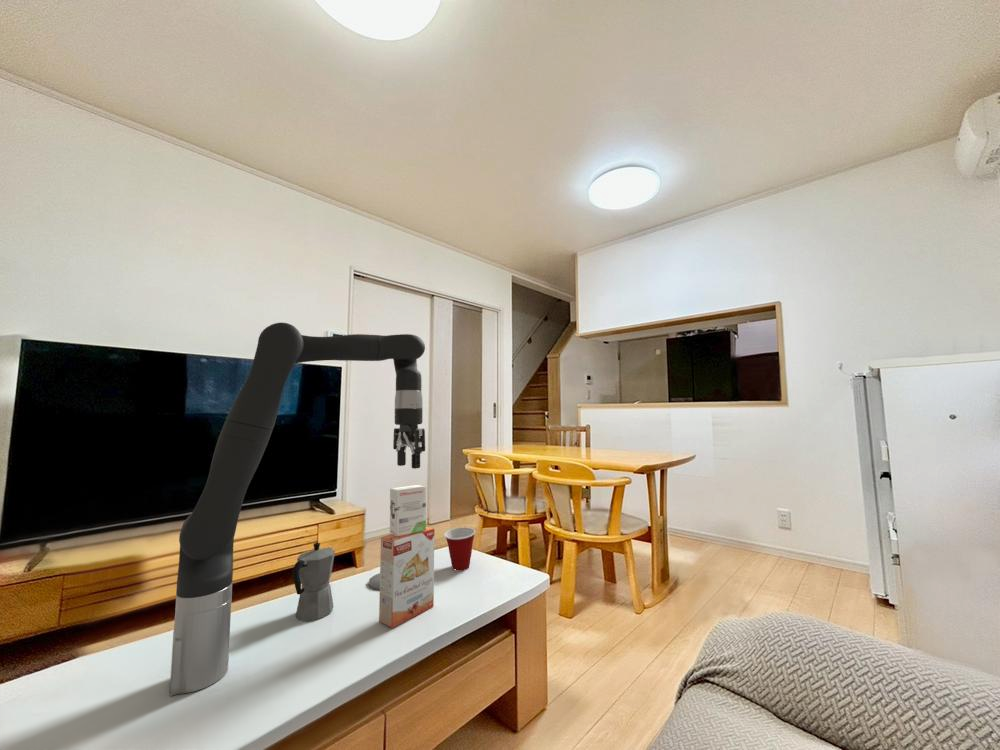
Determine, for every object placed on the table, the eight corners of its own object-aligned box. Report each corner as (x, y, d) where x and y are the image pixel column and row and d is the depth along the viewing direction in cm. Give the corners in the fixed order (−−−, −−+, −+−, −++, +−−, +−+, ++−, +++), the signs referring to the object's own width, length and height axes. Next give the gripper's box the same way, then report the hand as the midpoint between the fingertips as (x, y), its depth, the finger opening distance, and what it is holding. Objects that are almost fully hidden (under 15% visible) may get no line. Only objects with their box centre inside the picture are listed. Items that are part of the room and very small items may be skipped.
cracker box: (393, 630, 94) (393, 540, 97) (378, 622, 98) (379, 536, 100) (435, 606, 105) (435, 527, 108) (420, 601, 109) (420, 524, 111)
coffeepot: (315, 600, 111) (317, 534, 113) (345, 602, 109) (346, 536, 111) (274, 629, 96) (277, 553, 98) (308, 632, 94) (310, 555, 96)
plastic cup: (437, 569, 132) (437, 532, 133) (460, 559, 140) (460, 525, 141) (459, 576, 125) (459, 538, 126) (482, 566, 133) (482, 530, 134)
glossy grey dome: (378, 593, 114) (378, 590, 114) (363, 581, 123) (363, 577, 123) (415, 582, 122) (415, 578, 122) (398, 571, 131) (398, 567, 131)
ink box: (418, 526, 108) (418, 483, 110) (426, 530, 104) (426, 486, 106) (388, 532, 103) (389, 487, 105) (396, 537, 99) (396, 490, 101)
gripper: (385, 408, 110) (384, 466, 109) (408, 406, 100) (407, 470, 98) (409, 408, 115) (409, 463, 114) (433, 406, 104) (433, 467, 103)
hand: (408, 466), depth 106 cm, fingers open, 8 cm apart
